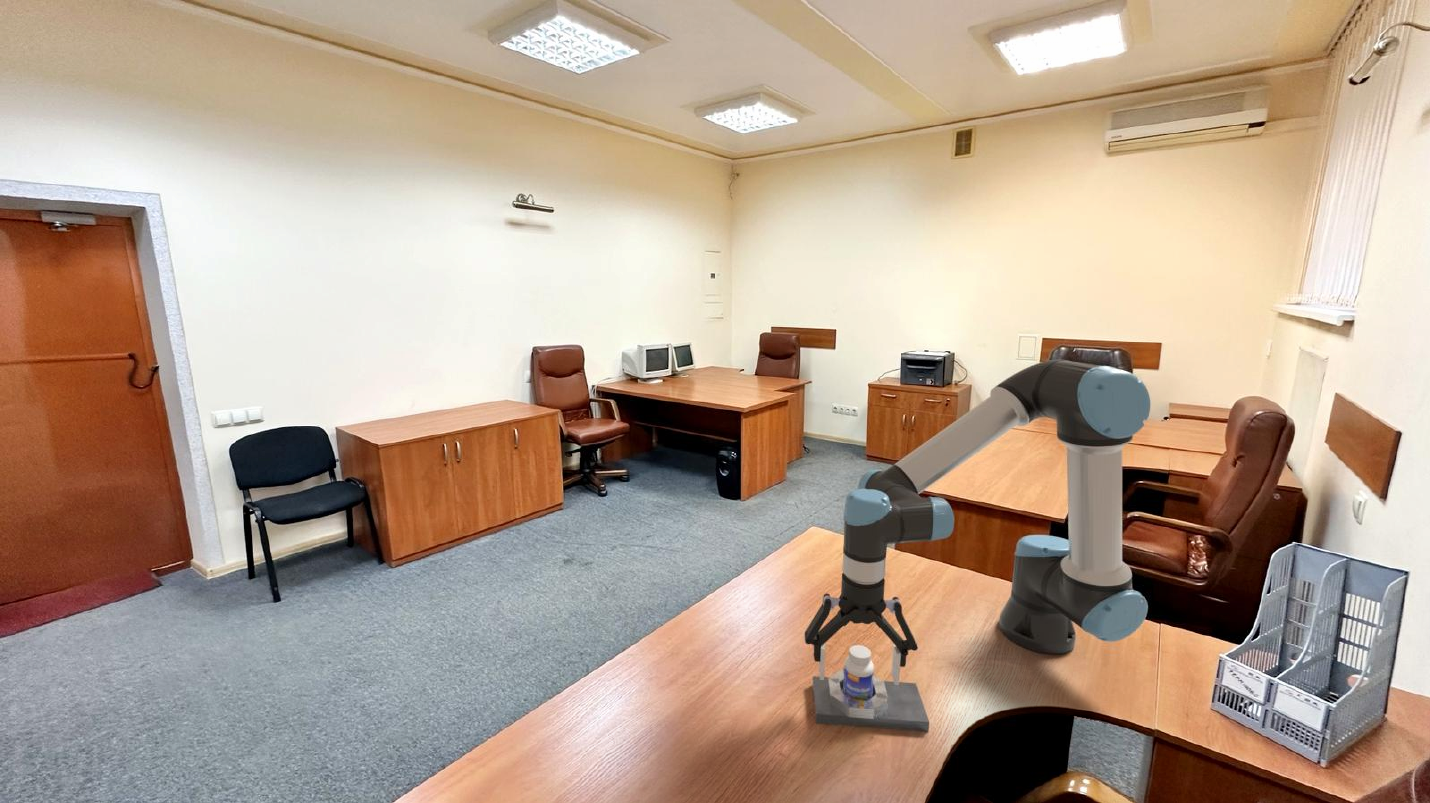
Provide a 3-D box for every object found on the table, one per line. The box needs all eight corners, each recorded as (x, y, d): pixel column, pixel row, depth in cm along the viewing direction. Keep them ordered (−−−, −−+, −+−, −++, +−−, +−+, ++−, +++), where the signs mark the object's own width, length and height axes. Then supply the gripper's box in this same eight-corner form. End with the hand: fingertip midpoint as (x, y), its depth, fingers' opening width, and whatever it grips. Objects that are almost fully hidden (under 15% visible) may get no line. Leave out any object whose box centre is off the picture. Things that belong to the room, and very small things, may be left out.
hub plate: (914, 690, 110) (916, 671, 109) (928, 732, 100) (930, 711, 99) (812, 683, 112) (813, 664, 111) (816, 723, 102) (816, 703, 101)
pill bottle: (843, 705, 104) (845, 659, 102) (842, 685, 109) (844, 640, 107) (873, 709, 103) (876, 662, 101) (871, 688, 108) (873, 644, 106)
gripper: (929, 567, 103) (921, 668, 107) (793, 561, 106) (790, 660, 110) (940, 589, 96) (931, 696, 100) (794, 581, 98) (791, 686, 103)
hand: (858, 677), depth 105 cm, fingers open, 13 cm apart
